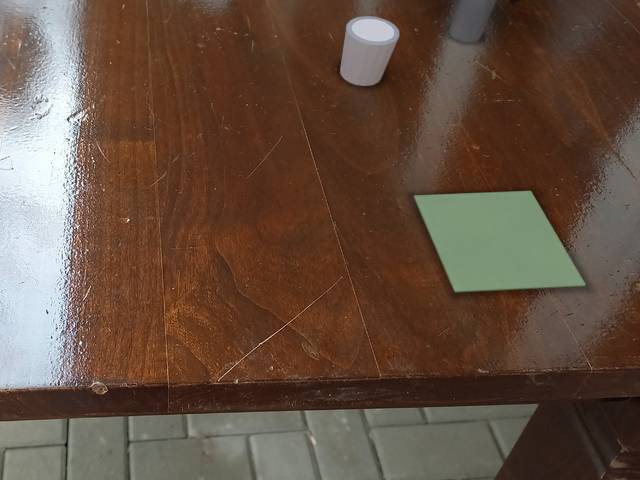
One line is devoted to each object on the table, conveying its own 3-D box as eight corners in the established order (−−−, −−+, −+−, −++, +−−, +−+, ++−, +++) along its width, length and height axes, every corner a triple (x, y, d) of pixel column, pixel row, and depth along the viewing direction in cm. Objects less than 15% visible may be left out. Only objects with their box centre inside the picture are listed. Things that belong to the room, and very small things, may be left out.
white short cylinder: (340, 90, 93) (352, 44, 88) (330, 60, 97) (341, 15, 92) (390, 90, 93) (405, 44, 88) (378, 60, 98) (392, 15, 92)
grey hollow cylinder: (450, 42, 101) (476, -26, 93) (446, 25, 104) (471, -42, 96) (482, 45, 100) (511, -23, 92) (477, 28, 103) (505, -39, 95)
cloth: (529, 193, 81) (531, 190, 81) (583, 287, 72) (586, 285, 72) (412, 198, 80) (414, 195, 80) (453, 294, 71) (455, 291, 71)
